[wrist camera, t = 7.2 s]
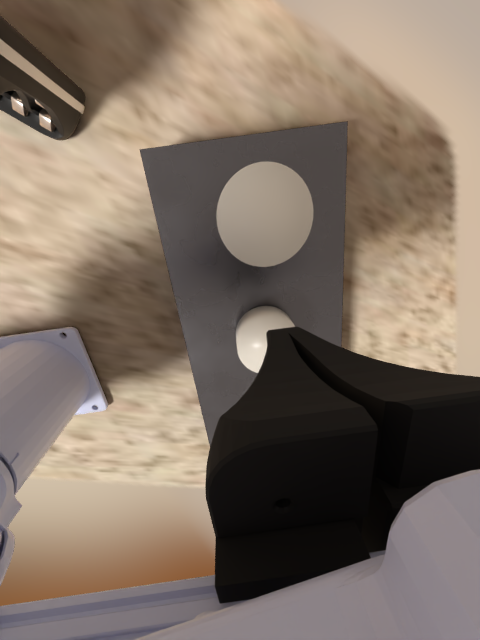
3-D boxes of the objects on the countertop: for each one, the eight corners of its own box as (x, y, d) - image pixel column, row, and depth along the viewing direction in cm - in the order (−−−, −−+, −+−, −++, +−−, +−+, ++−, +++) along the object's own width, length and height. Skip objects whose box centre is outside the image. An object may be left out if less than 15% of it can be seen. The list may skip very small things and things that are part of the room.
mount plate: (214, 433, 25) (213, 460, 22) (153, 160, 16) (139, 149, 13) (325, 416, 25) (338, 441, 22) (326, 137, 16) (347, 121, 13)
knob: (223, 256, 16) (224, 272, 11) (212, 183, 14) (208, 169, 10) (287, 247, 16) (314, 260, 11) (283, 173, 14) (312, 154, 10)
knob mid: (237, 343, 21) (241, 378, 17) (230, 297, 20) (232, 322, 15) (285, 336, 21) (302, 369, 17) (282, 289, 20) (300, 312, 15)
